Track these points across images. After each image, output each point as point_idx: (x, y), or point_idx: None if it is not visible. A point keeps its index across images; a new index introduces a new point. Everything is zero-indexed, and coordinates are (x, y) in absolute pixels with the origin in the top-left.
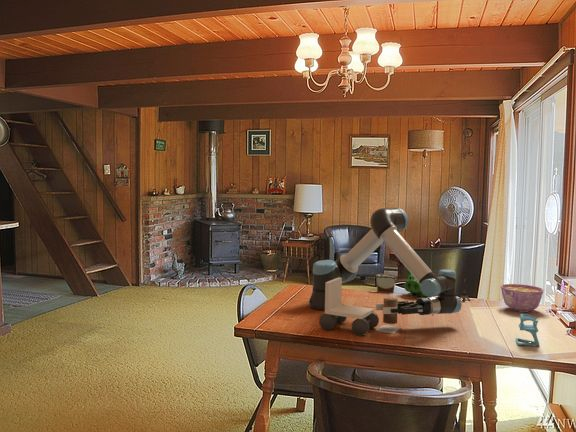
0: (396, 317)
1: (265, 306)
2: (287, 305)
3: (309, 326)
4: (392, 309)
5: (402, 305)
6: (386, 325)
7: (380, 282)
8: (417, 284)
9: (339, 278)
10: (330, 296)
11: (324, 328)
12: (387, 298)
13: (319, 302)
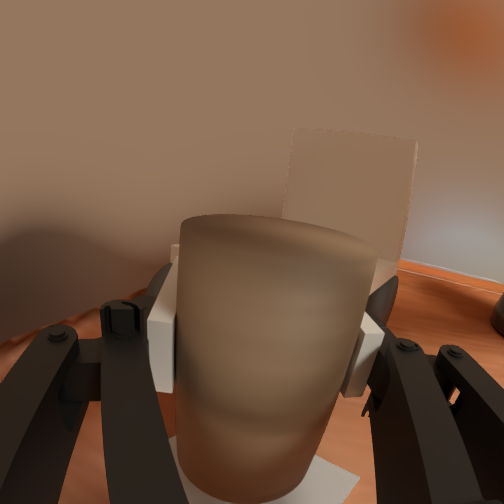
0: (184, 440)
1: (456, 275)
2: (487, 293)
3: None
4: (140, 299)
5: (406, 498)
6: (343, 493)
7: None
8: None
9: (396, 138)
10: (301, 183)
11: None
12: (323, 233)
13: (501, 300)
